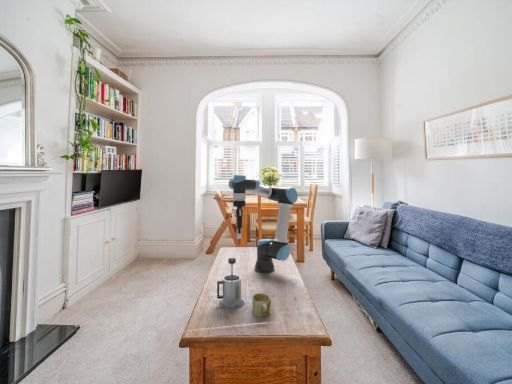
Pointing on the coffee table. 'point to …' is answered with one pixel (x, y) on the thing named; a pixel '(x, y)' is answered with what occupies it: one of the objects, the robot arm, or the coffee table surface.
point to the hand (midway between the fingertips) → (238, 238)
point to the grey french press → (230, 291)
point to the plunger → (231, 261)
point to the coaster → (231, 308)
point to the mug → (261, 304)
